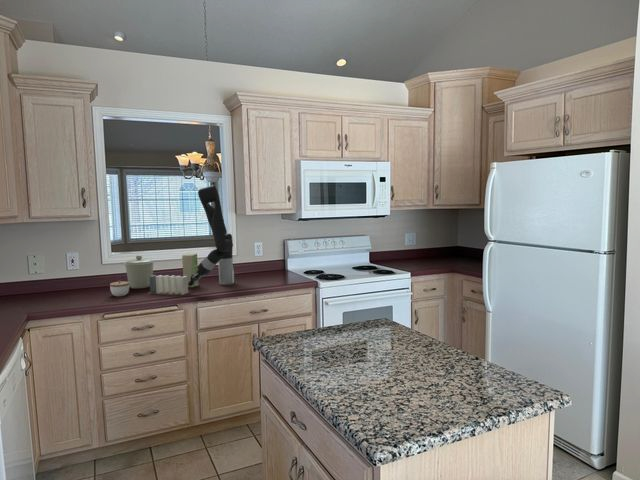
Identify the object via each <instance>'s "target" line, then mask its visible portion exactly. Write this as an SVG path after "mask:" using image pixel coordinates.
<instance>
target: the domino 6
mask: <svg viewBox="0 0 640 480" xmlns="http://www.w3.org/2000/svg"><path fill="white" fill-rule="evenodd" d="M180 282H181V294H184V295H187V294H189V293H188V292H189V287H188V280H187V276H183V275H182V276H181V278H180ZM186 293H187V294H186Z"/></svg>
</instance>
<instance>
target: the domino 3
mask: <svg viewBox="0 0 640 480" xmlns="http://www.w3.org/2000/svg"><path fill="white" fill-rule="evenodd" d="M168 277H170V275H169V274H166V275H163V277H162V291H163V293H167V292H169V289H168Z"/></svg>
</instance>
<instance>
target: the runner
mask: <svg viewBox="0 0 640 480" xmlns="http://www.w3.org/2000/svg"><path fill="white" fill-rule="evenodd" d="M189 293H190V291H188V293H186V294H181V293H179V294H175V292H174V293H172V294H169V292H167V293H163V292H160V293H157V292H154V293H150V292H148V293H147V294H151V295H171V296H172V295H174V296H184V295H187V294H189Z"/></svg>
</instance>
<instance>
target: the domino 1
mask: <svg viewBox="0 0 640 480" xmlns="http://www.w3.org/2000/svg"><path fill="white" fill-rule="evenodd" d="M156 276H158V275H157V274H153V276H150V287H149V293H154V292H156Z"/></svg>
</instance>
